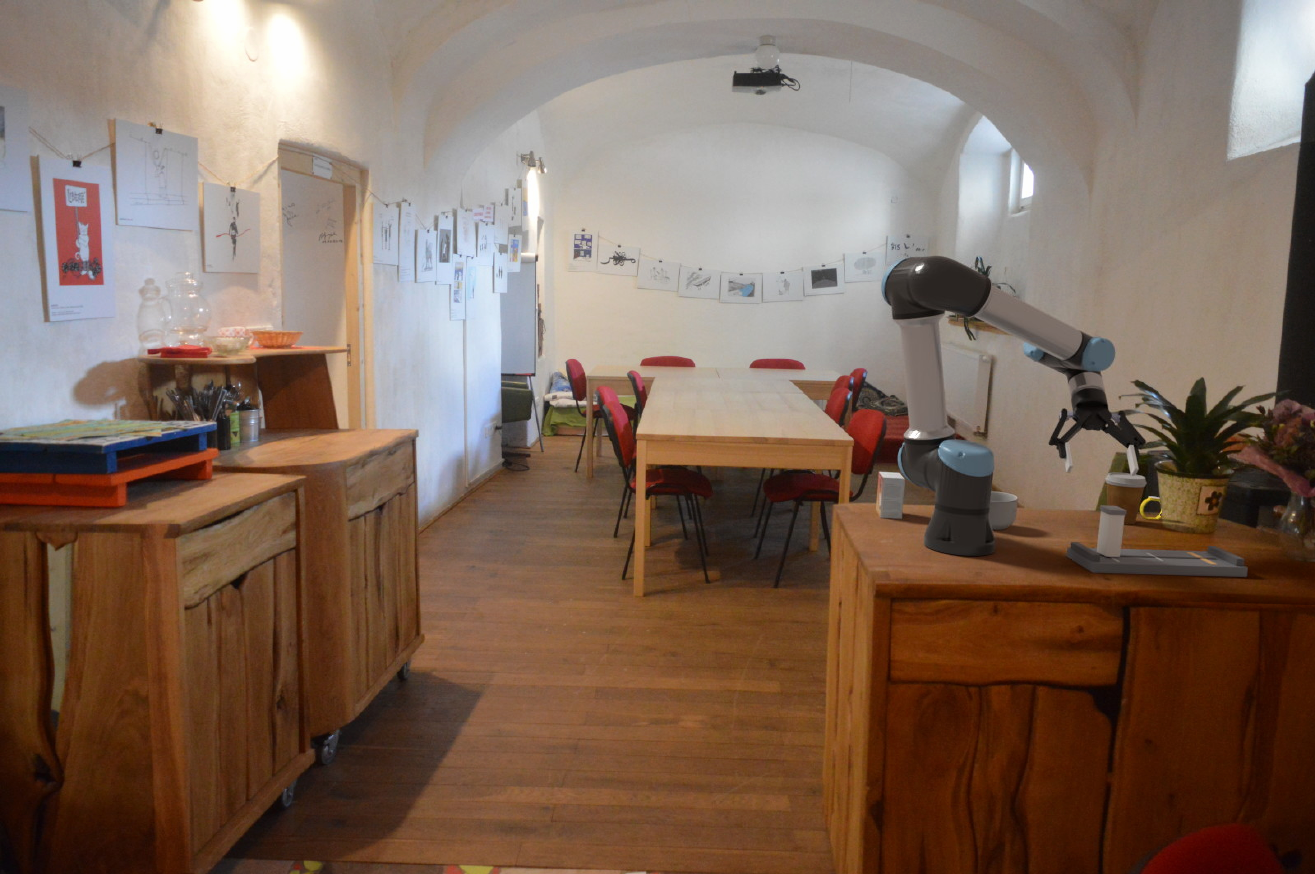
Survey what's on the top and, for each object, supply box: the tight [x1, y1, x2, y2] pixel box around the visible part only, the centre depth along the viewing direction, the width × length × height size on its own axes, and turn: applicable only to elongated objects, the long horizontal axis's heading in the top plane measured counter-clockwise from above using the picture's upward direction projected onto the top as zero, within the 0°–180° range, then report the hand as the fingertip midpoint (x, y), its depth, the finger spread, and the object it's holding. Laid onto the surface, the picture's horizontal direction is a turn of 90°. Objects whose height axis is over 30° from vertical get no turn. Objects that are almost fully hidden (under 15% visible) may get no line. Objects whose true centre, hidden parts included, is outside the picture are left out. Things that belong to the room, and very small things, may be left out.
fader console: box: [1065, 541, 1249, 578], centre depth 194 cm, size 32×12×4 cm, turn 90°
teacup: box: [989, 490, 1019, 531], centre depth 226 cm, size 14×11×8 cm
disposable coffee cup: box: [1104, 472, 1148, 525], centre depth 234 cm, size 10×10×12 cm
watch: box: [1139, 495, 1162, 521], centre depth 238 cm, size 6×3×6 cm, turn 89°
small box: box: [875, 471, 906, 520], centre depth 233 cm, size 8×6×10 cm
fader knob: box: [1096, 504, 1127, 557], centre depth 193 cm, size 3×4×10 cm
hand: (1102, 471), depth 202 cm, fingers open, 13 cm apart
